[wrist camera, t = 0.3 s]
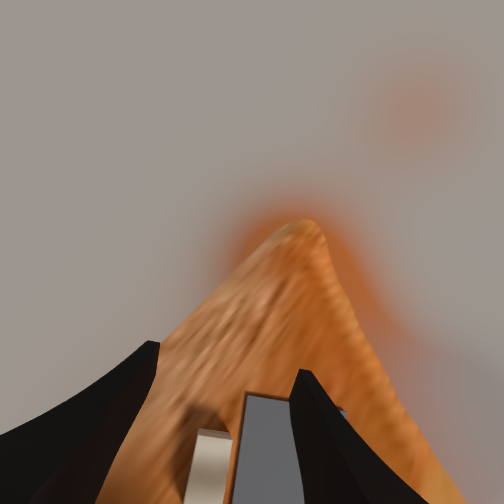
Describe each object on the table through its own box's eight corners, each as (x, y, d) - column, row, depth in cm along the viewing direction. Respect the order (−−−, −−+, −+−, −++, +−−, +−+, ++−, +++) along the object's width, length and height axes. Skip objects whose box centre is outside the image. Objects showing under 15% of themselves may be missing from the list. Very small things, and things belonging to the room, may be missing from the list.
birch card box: (217, 507, 31) (219, 525, 27) (182, 502, 31) (180, 521, 27) (229, 432, 35) (232, 440, 31) (198, 427, 34) (198, 435, 31)
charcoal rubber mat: (346, 577, 30) (348, 581, 30) (222, 565, 29) (222, 569, 28) (344, 411, 38) (346, 411, 38) (247, 394, 37) (247, 395, 36)
